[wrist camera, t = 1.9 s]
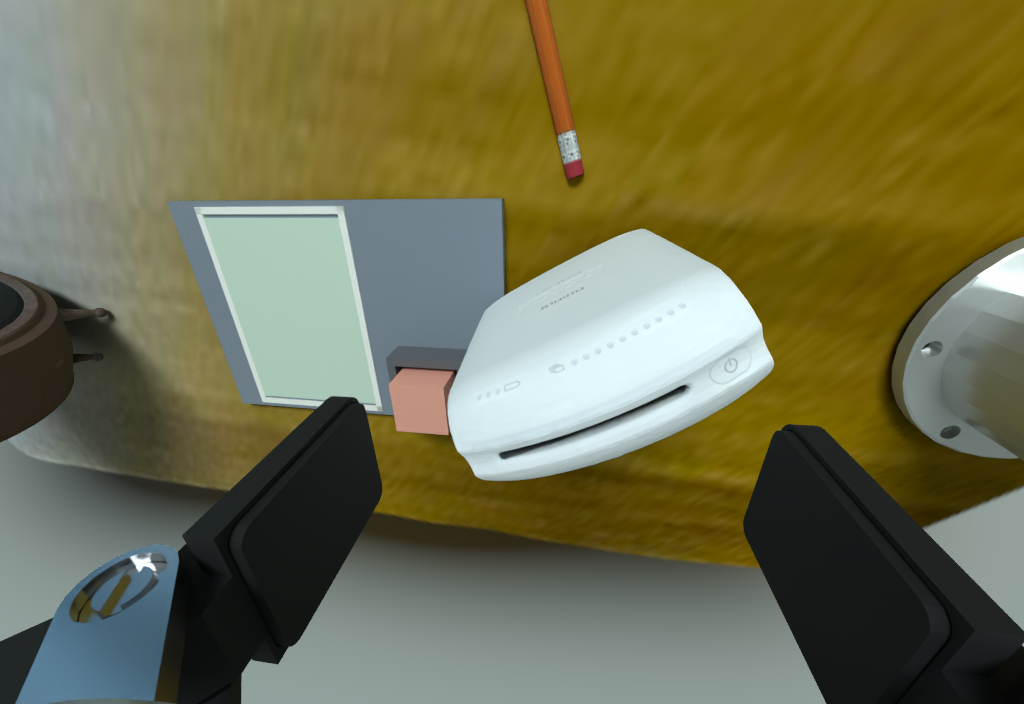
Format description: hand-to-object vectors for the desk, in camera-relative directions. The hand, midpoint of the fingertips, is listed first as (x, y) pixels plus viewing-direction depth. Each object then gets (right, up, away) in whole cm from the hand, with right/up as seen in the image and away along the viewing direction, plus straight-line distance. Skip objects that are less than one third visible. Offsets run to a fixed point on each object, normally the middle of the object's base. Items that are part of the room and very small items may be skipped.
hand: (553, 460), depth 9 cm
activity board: (-11, +5, +15) cm, 20 cm away
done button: (-6, 0, +15) cm, 16 cm away
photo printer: (+2, +6, +12) cm, 14 cm away
